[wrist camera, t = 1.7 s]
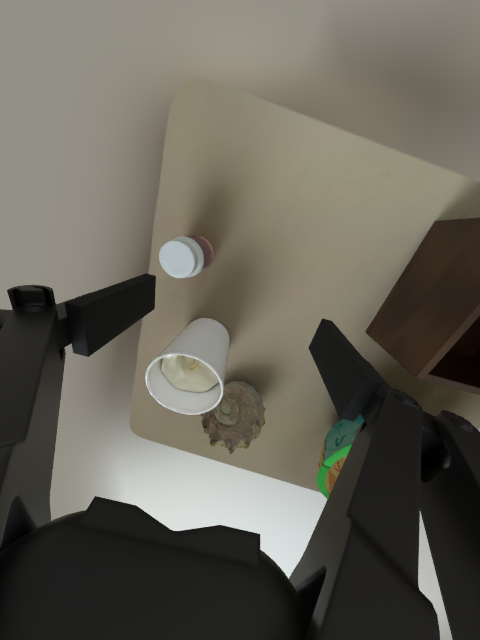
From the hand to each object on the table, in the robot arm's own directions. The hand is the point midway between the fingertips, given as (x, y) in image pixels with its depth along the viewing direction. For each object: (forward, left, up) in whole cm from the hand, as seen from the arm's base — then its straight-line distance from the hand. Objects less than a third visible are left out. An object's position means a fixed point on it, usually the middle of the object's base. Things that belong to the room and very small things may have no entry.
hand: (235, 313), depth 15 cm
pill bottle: (-1, -8, -16) cm, 18 cm away
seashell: (+26, +4, -16) cm, 31 cm away
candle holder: (+13, -4, -16) cm, 21 cm away
